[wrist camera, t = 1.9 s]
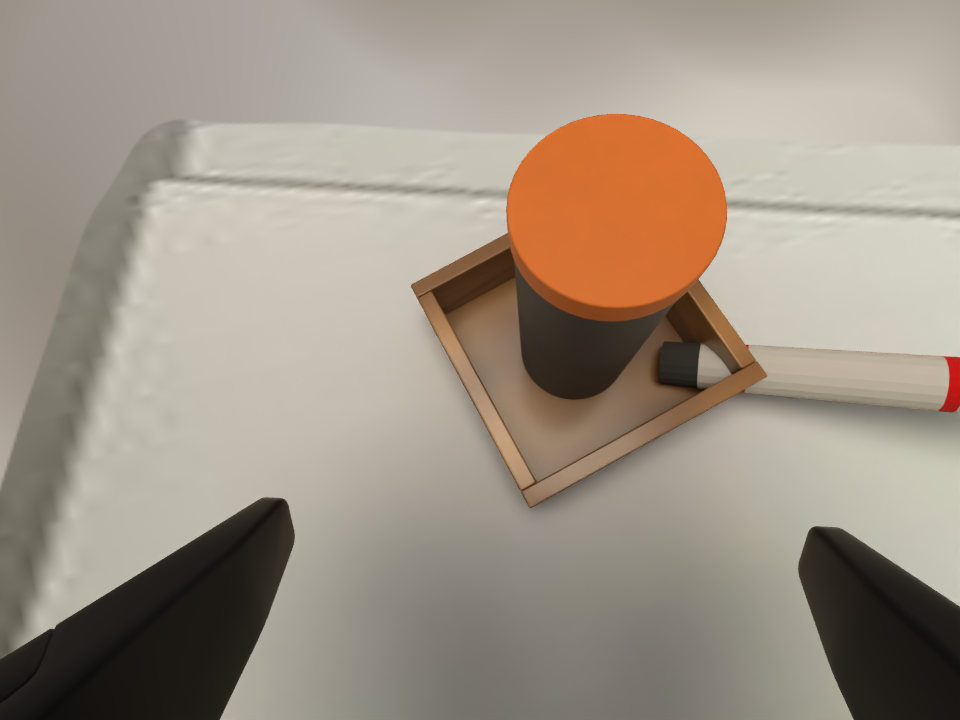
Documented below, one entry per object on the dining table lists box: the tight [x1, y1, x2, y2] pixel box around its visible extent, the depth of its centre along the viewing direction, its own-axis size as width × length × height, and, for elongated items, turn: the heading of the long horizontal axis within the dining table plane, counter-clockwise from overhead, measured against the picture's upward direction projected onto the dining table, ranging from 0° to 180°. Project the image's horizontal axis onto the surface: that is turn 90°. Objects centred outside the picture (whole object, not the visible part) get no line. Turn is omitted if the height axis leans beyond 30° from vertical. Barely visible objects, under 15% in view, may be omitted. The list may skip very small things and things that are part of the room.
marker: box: [660, 341, 960, 413], centre depth 20 cm, size 15×2×2 cm, turn 79°
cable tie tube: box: [506, 114, 727, 400], centre depth 18 cm, size 5×5×12 cm
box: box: [411, 233, 767, 508], centre depth 23 cm, size 10×10×4 cm
